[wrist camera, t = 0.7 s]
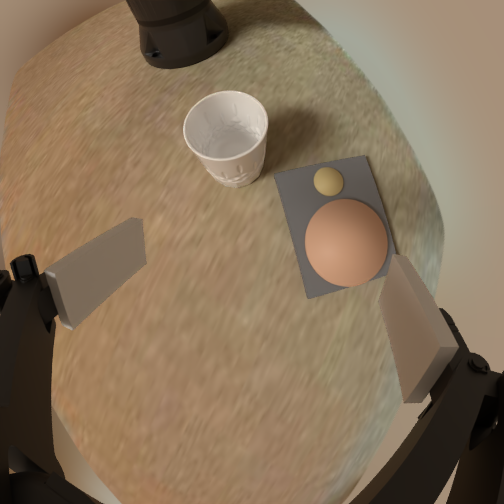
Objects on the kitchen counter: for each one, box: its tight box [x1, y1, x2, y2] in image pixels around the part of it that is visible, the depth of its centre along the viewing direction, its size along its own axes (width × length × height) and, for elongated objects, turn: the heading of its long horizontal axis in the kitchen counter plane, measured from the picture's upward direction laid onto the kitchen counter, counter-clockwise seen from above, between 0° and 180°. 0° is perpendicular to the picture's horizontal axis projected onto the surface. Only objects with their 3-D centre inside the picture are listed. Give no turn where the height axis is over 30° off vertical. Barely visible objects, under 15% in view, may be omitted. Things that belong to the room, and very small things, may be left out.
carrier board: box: [274, 155, 396, 299], centre depth 31 cm, size 15×12×2 cm
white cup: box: [183, 91, 268, 188], centre depth 28 cm, size 8×8×10 cm
